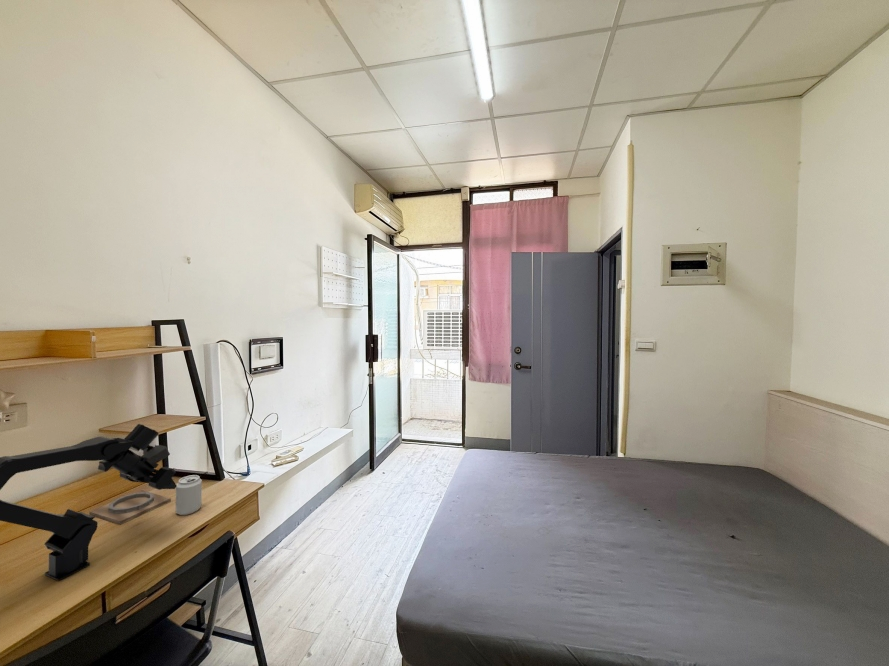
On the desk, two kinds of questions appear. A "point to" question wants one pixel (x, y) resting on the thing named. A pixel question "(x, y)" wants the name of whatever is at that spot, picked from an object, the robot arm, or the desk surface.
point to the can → (188, 495)
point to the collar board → (127, 504)
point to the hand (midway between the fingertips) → (166, 484)
